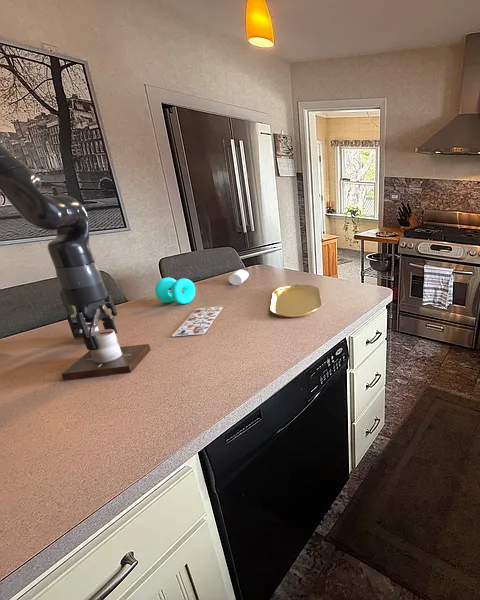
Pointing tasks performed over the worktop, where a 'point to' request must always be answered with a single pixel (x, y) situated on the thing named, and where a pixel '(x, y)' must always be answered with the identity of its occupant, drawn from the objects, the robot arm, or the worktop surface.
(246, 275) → the roll
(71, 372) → the holder
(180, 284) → the donuts
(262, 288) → the worktop surface
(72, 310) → the vegetable
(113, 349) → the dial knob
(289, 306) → the serving platter
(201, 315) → the paper towel
